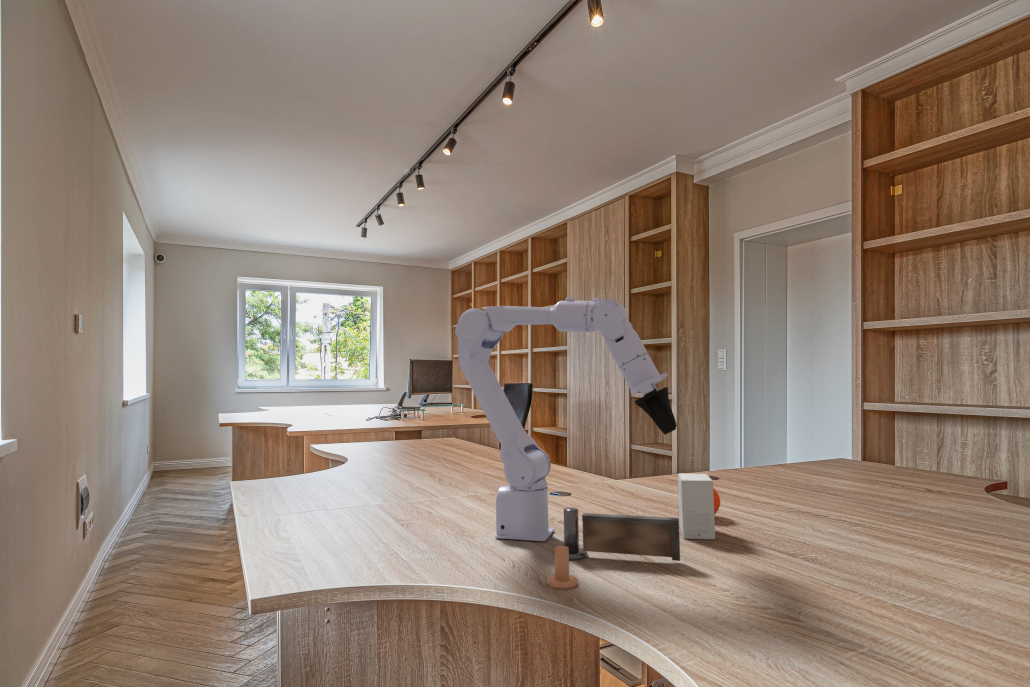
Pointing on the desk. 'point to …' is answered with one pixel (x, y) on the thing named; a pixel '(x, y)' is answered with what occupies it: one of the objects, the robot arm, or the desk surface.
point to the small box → (696, 506)
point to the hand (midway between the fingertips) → (671, 430)
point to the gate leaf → (631, 535)
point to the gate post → (572, 534)
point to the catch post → (562, 571)
